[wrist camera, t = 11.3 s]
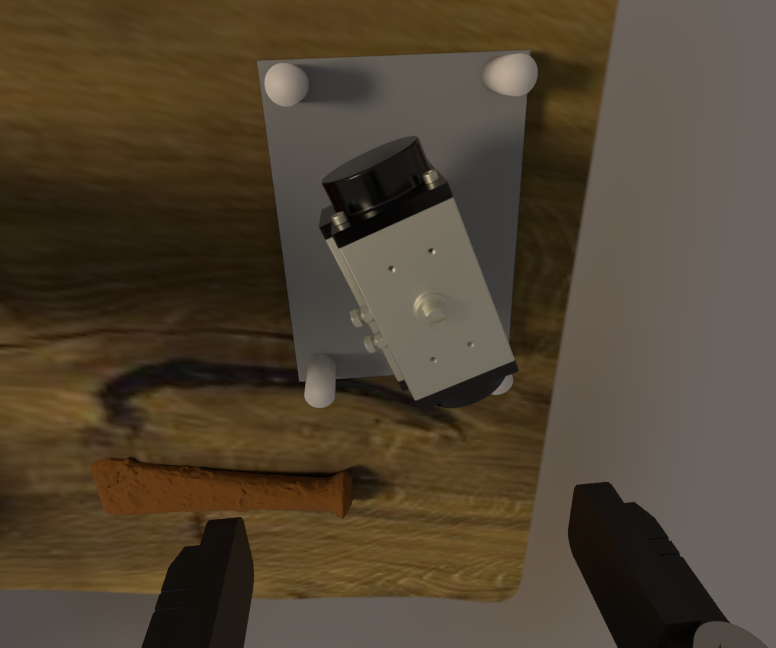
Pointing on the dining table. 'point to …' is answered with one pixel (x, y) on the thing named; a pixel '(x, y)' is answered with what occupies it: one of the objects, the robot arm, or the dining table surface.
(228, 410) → the dining table surface
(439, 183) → the pneumatic valve
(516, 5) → the dining table surface
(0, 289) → the dining table surface
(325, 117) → the peg board
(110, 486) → the primitive tool
